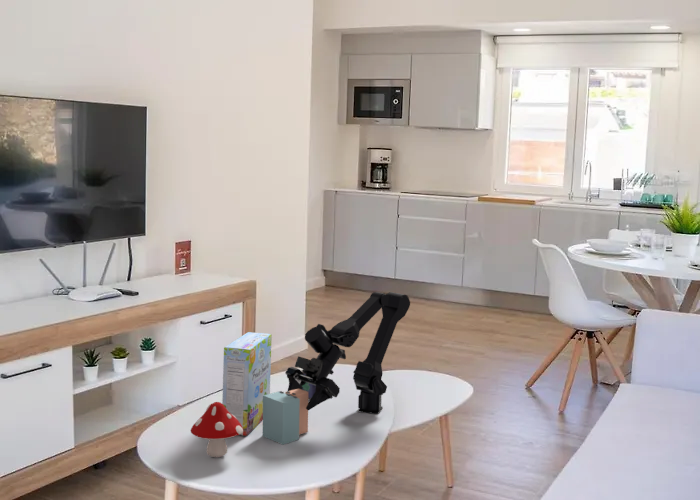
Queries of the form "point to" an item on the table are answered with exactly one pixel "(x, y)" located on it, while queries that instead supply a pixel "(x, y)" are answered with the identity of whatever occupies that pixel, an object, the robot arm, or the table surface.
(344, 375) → the table surface
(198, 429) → the decorative mushroom
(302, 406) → the stub
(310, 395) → the flask
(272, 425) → the teal block
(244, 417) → the snack box
